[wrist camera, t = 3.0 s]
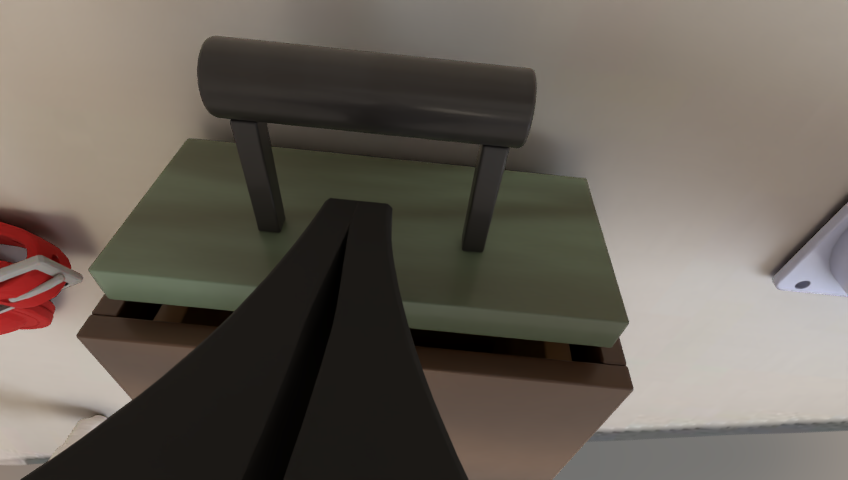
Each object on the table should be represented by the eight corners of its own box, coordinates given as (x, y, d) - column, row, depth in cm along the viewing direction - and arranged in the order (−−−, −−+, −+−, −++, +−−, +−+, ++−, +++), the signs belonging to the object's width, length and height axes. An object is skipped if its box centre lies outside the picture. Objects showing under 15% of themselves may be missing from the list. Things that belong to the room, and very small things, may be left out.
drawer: (127, -35, 11) (-57, 70, 7) (653, 20, 11) (753, 152, 7) (268, 366, 26) (232, 473, 22) (497, 388, 26) (502, 499, 22)
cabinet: (194, 162, 17) (74, 335, 12) (583, 201, 17) (635, 390, 12) (270, 374, 28) (227, 507, 23) (497, 396, 29) (504, 532, 23)
